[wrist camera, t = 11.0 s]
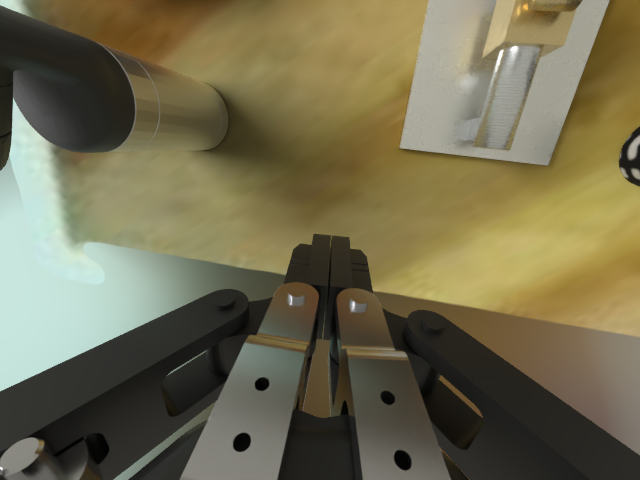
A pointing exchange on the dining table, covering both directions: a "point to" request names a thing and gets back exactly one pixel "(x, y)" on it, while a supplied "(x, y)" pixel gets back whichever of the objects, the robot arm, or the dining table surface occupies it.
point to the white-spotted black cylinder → (631, 158)
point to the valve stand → (497, 77)
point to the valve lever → (554, 5)
